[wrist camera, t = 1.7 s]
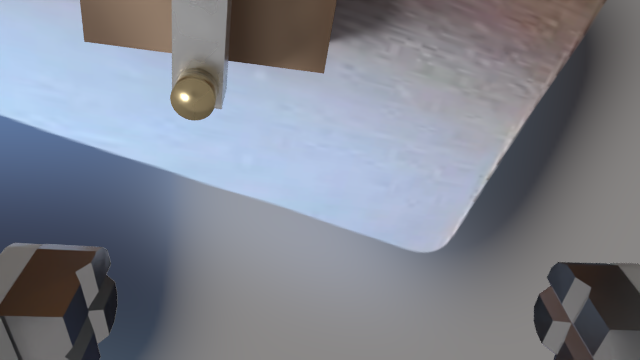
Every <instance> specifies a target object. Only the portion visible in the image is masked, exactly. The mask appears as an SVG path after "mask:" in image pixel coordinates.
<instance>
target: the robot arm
mask: <svg viewBox="0 0 640 360" xmlns="http://www.w3.org/2000/svg"><path fill="white" fill-rule="evenodd" d="M110 265H111V262H110V258H109V255H108V251H107V250H106V249H105V248H103V247H90V246H72V245H53V244H44V245H40V244H25V243H14V244H11V245H10V246H8V247H6V248H5V249H4V250H3V252H2V253H1V254H0V360H99V359H100V357H101V356H100V352H99V349H98V345H97V344H98V343H99V342H101V341H102V340H103V339H104V338H105V337H107V336H108V335H109V334H110V331H111V329H112V326H113V324H114V320H115V315H116V310H117V289H116V285H115V282H114V281H113V280H112V279H111V278H110V277H108V276H107V275H106V274H107V272H108V270H109V267H110ZM547 279H548V281H549V283H550V285H551V286H550V287H549V288H547V289H546V290H544V291H543V292H541V293H540V294H539V296H538V298H537V301H536V303H535V306H534V324H535V328H536V332H537V334H538V336H539V339H540V341H541V343H542V344H543V345H544V346H545V347H547V348H548V349H549V350H550V351H552V352H553V353H554V354H555V356H554V360H640V265H639V264H633V263H610V264H607V263H572V262H558V263H556V264H555V265H554V266H553V267H552V268H551V270H550V272H549V274H548V276H547Z"/></svg>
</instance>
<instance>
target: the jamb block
mask: <svg viewBox="0 0 640 360" xmlns="http://www.w3.org/2000/svg"><path fill="white" fill-rule="evenodd" d="M336 1H337V0H232V5H231V22H230V38H229V55H228V61H235V62H242V63H250V64H257V65H265V66H272V67H280V68H288V69H295V70H303V71H310V72H318V73H324V69H325V64H326V58H327V52H328V47H329V41H330V35H331V30H332V24H333V18H334V13H335V7H336ZM80 4H81V14H82V23H83V32H84V42H92V43H99V44H107V45H114V46H122V47H129V48H137V49H144V50H152V51H159V52H167V53H172V0H80Z"/></svg>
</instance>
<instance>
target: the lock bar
mask: <svg viewBox="0 0 640 360" xmlns="http://www.w3.org/2000/svg"><path fill="white" fill-rule="evenodd" d="M231 5H232V0H172V92H171V97H170V99H171V104H172V107H173V108H174V110H175V111H176V112H177V113H178V114H179V115H180V116H182V117H184V118H186V119H189V120H201V119H204V118H206V117H208V116H209V115H210V114H211V113H212V111H213V109H214V108H217V109H222V105H223V101H224V97H225V93H226V88H227V71H228V55H229V38H230V22H231Z"/></svg>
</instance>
